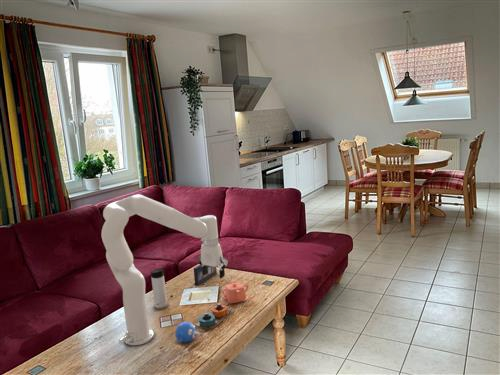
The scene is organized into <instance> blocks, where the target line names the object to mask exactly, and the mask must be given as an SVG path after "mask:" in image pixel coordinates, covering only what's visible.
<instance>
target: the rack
mask: <svg viewBox="0 0 500 375" xmlns="http://www.w3.org/2000/svg"><path fill="white" fill-rule="evenodd" d="M221 305H222V303H221V302H218V303H216V306H217V310H218V311H219V310H222V308H221ZM227 310H228V313H227V314H226V315H225V316H220V317H216V316H215V322H216V323H214V324H213V325H212V326H207V327H204V326H200V324H199V321H198V322H197V323H195V326H198V327H202V328H205V329H211V328H212V327H213V326H214V325H216V324H217V323H218V322H220V321H221V320H222V319H223V318H224V317H226V316H227V315H229V313H231V312H232V310H229V309H227ZM209 314H212V312H210V313H209V312H207V311H206V312H204V313H203V315H204V316H205V320H209Z"/></svg>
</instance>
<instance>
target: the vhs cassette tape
mask: <svg viewBox="0 0 500 375" xmlns="http://www.w3.org/2000/svg"><path fill="white" fill-rule="evenodd" d="M217 269H218V268H217V267H213V266H208V274H206V275H205V276H204V275H203V268H202V267H201V265H200V264H198V265H197V266H195V267H193V278H194V285H197V286H200V285H201V284H203V283H205V282H206V281H207V280H209V279H211V278H213V277H214V276H216V275H217V274H218V270H217Z"/></svg>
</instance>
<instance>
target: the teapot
mask: <svg viewBox="0 0 500 375" xmlns="http://www.w3.org/2000/svg"><path fill="white" fill-rule="evenodd" d="M249 287H250V286H249V284H242V283H241V282H230V283H228V284H225V286H224V288H223V289H222V295H223V296H222V299H223V300H224V301H227V303H228V304H235V303H236V304H238V303H242V302H245V301H246V299H247V293H246V292H247V291H248V290H249Z"/></svg>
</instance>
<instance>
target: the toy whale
mask: <svg viewBox="0 0 500 375" xmlns="http://www.w3.org/2000/svg"><path fill="white" fill-rule="evenodd" d="M196 329H197V327H196V325H194V324H193V323H192V322H190V321H183V322H181V323H178V325H176V328H175V332H174V334H175V338H176V340H177V341H178V343H180V344H181V343H182V344H187V343H190V342H192V341H193V340H196V338H197V337H199V336H202V335H203V333H202V332H199V331H197V330H196Z"/></svg>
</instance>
